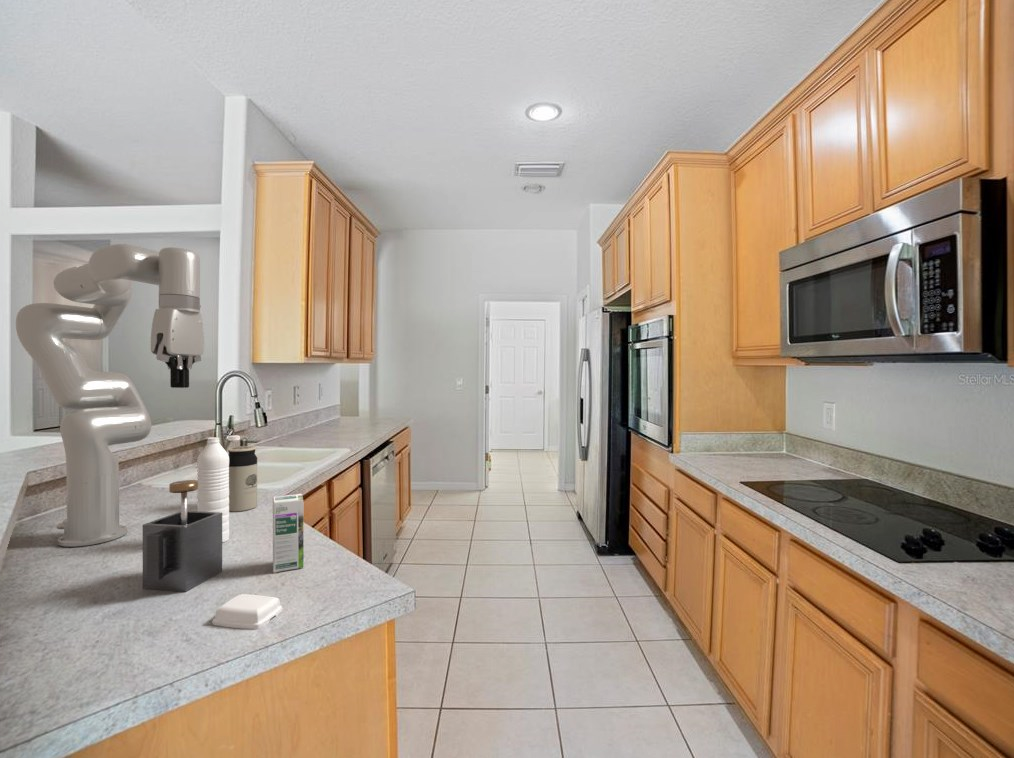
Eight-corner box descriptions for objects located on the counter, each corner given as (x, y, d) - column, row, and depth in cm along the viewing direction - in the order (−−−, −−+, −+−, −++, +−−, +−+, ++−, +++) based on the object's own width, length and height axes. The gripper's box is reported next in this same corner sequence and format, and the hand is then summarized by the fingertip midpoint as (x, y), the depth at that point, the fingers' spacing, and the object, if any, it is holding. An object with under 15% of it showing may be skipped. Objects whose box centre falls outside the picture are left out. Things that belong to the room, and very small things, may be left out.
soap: (285, 610, 80) (286, 593, 79) (258, 632, 73) (258, 614, 73) (239, 606, 81) (239, 589, 81) (208, 626, 74) (208, 608, 74)
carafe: (130, 594, 84) (130, 528, 84) (182, 568, 95) (182, 510, 95) (175, 598, 83) (174, 531, 83) (222, 571, 94) (222, 512, 94)
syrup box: (272, 573, 93) (272, 502, 93) (272, 563, 98) (272, 495, 98) (303, 568, 96) (303, 498, 96) (301, 558, 101) (301, 492, 101)
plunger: (155, 568, 87) (154, 486, 87) (182, 555, 94) (182, 478, 94) (185, 570, 87) (185, 487, 86) (211, 557, 93) (211, 479, 93)
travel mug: (221, 509, 136) (221, 448, 136) (248, 503, 143) (248, 445, 143) (235, 513, 132) (235, 451, 132) (262, 507, 139) (262, 447, 139)
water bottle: (197, 548, 106) (197, 439, 106) (197, 539, 112) (197, 436, 111) (240, 541, 111) (240, 437, 111) (238, 533, 116) (238, 434, 116)
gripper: (191, 310, 111) (191, 386, 111) (133, 300, 96) (133, 388, 96) (220, 309, 110) (220, 386, 110) (165, 299, 95) (166, 388, 95)
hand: (179, 387), depth 103 cm, fingers closed
